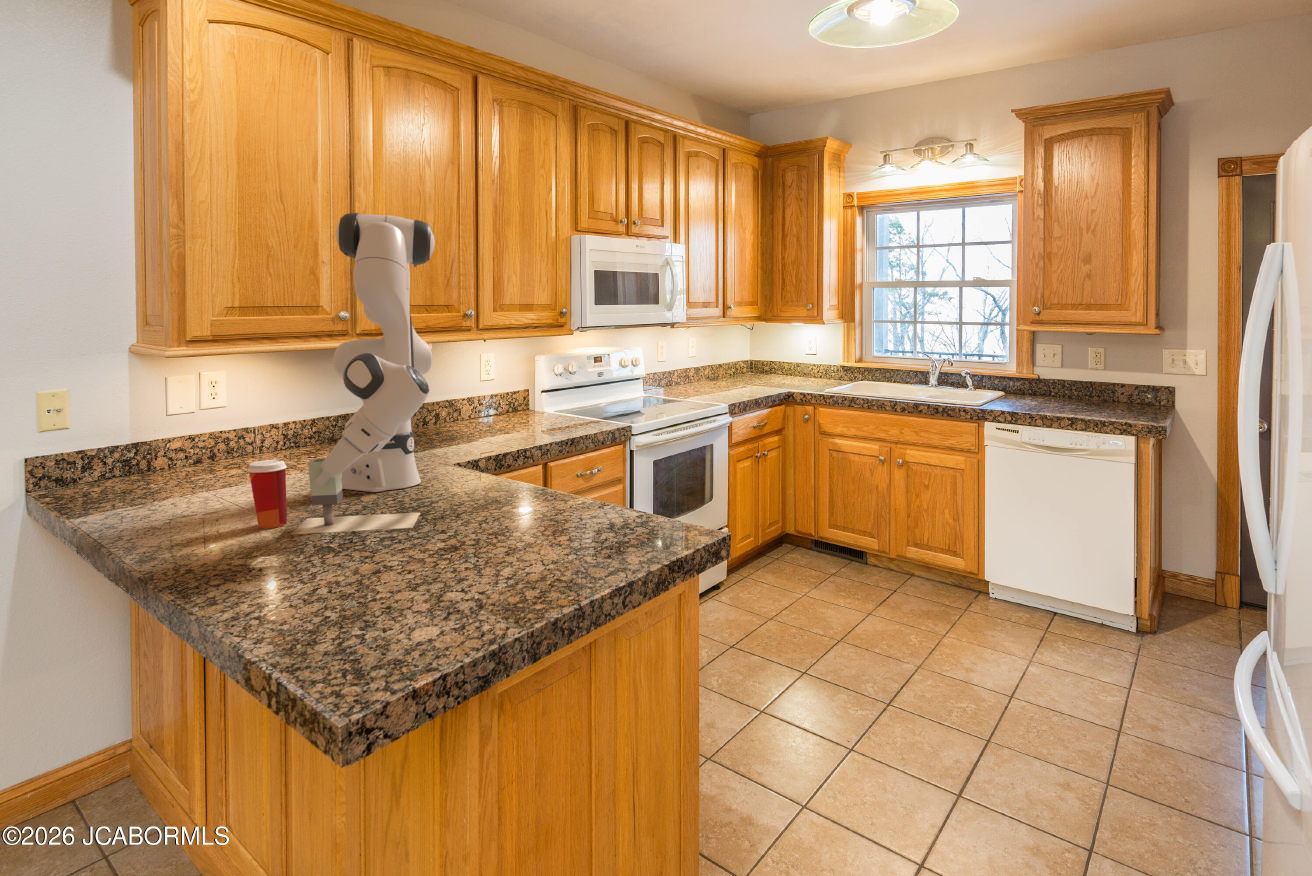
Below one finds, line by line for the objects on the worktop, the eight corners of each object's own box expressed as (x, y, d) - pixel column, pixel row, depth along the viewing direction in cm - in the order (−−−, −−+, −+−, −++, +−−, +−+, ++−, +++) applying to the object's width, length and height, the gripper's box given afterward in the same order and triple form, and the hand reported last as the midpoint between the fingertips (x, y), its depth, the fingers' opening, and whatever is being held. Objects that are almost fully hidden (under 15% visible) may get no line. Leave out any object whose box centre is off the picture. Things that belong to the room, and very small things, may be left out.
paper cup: (280, 518, 172) (274, 457, 170) (299, 523, 168) (293, 461, 166) (245, 526, 166) (238, 463, 164) (264, 532, 162) (257, 467, 159)
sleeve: (311, 505, 158) (308, 462, 156) (318, 499, 163) (314, 458, 161) (337, 503, 159) (333, 461, 157) (342, 498, 164) (339, 457, 162)
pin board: (291, 541, 155) (288, 510, 154) (307, 525, 167) (304, 496, 166) (413, 534, 159) (411, 504, 158) (420, 518, 171) (418, 490, 170)
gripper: (365, 415, 169) (323, 460, 169) (344, 429, 149) (296, 480, 149) (388, 434, 171) (345, 479, 171) (370, 450, 151) (322, 501, 151)
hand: (322, 479), depth 160 cm, fingers closed on sleeve, 5 cm apart
